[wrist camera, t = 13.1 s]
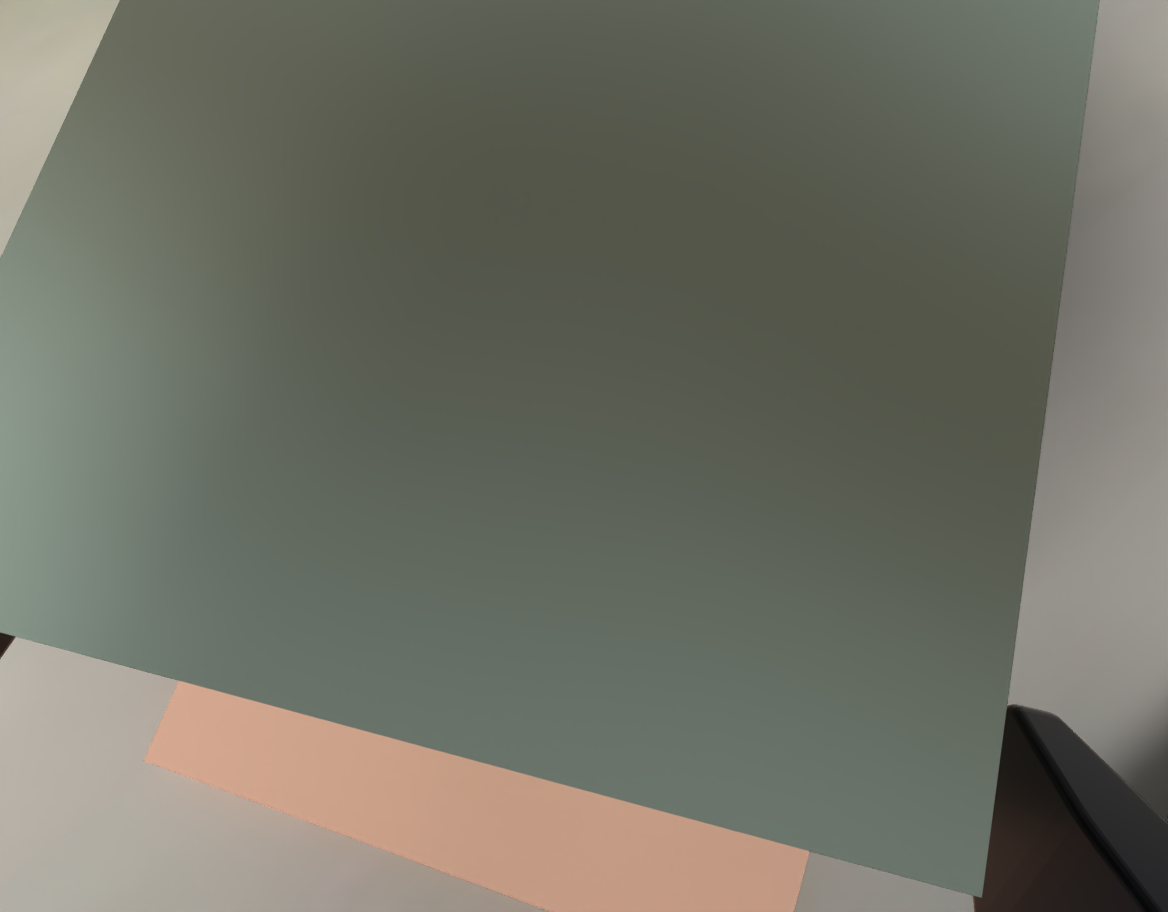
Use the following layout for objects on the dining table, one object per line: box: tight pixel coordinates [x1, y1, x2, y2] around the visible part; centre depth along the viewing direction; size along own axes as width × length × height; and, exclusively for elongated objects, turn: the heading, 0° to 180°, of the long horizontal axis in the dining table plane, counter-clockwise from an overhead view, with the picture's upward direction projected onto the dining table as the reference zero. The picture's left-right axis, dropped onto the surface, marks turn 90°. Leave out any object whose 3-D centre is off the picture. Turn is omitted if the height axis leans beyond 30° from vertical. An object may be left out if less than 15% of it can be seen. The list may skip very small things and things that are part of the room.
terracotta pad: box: [144, 681, 810, 912], centre depth 17 cm, size 12×12×1 cm
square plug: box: [0, 0, 1099, 898], centre depth 11 cm, size 5×5×13 cm
